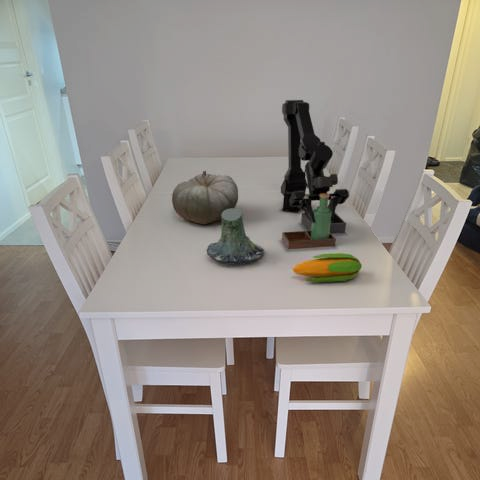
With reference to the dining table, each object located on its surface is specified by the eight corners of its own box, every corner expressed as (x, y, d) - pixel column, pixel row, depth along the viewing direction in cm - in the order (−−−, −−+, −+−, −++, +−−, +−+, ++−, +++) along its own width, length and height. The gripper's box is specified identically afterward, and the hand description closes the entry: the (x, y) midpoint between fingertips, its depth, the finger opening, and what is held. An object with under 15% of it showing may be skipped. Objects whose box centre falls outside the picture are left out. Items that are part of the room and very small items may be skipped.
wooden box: (281, 240, 153) (282, 232, 151) (326, 238, 155) (327, 229, 153) (288, 250, 146) (288, 242, 144) (334, 247, 148) (336, 238, 147)
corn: (368, 257, 124) (296, 261, 122) (364, 283, 128) (295, 287, 125) (358, 248, 130) (290, 251, 128) (355, 272, 134) (289, 276, 132)
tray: (301, 223, 166) (302, 212, 164) (332, 221, 168) (334, 211, 166) (311, 236, 156) (312, 225, 154) (344, 234, 158) (346, 223, 156)
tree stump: (271, 247, 149) (273, 199, 136) (253, 286, 137) (253, 238, 123) (219, 237, 154) (216, 190, 140) (197, 274, 141) (191, 226, 128)
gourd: (252, 205, 175) (245, 161, 164) (224, 237, 158) (214, 191, 147) (197, 202, 185) (187, 160, 174) (165, 232, 169) (152, 188, 158)
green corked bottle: (308, 243, 149) (313, 196, 141) (312, 237, 154) (317, 190, 145) (326, 246, 148) (332, 198, 139) (329, 239, 152) (335, 192, 144)
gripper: (294, 165, 139) (301, 212, 136) (351, 163, 142) (359, 209, 139) (286, 183, 150) (292, 227, 147) (339, 181, 153) (346, 224, 150)
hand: (322, 221), depth 146 cm, fingers closed on green corked bottle, 6 cm apart
